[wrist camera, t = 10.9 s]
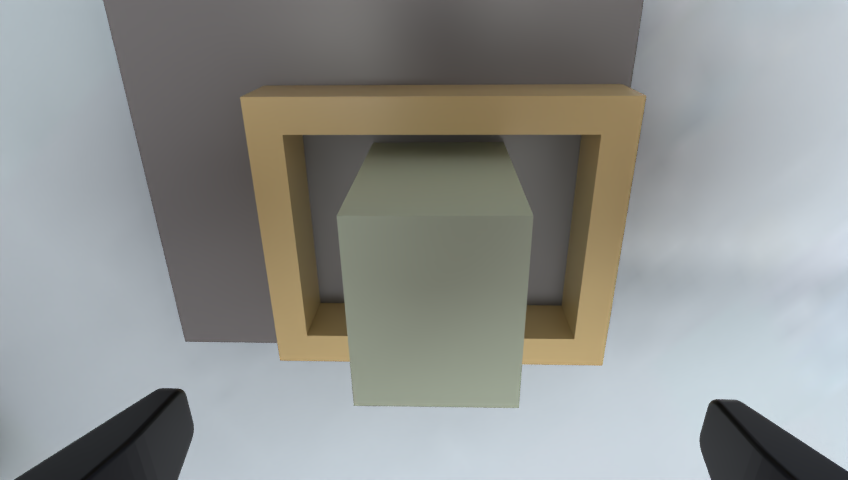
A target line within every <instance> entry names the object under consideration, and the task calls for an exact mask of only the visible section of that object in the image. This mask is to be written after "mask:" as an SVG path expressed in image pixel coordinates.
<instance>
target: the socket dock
mask: <svg viewBox="0 0 848 480" xmlns="http://www.w3.org/2000/svg"><path fill="white" fill-rule="evenodd" d="M103 1H104V6H105V10H106V14H107V18H108V22H109V26H110V30H111V35H112V39H113V43H114V47H115V51H116V55H117V60H118V64H119V68H120V72H121V76H122V80H123V84H124V89H125V93H126V97H127V101H128V105H129V109H130V114H131V118H132V122H133V126H134V130H135V134H136V138H137V143H138V147H139V151H140V155H141V159H142V163H143V168H144V172H145V176H146V180H147V184H148V188H149V192H150V197H151V201H152V205H153V209H154V213H155V217H156V222H157V226H158V230H159V234H160V238H161V242H162V246H163V251H164V255H165V259H166V263H167V267H168V271H169V276H170V280H171V284H172V288H173V292H174V296H175V301H176V305H177V309H178V313H179V317H180V321H181V325H182V330H183V334H184V338H185V342H255V343H278V350H279V356H280V360H284V361H348V362H350V357H349V346H348V335H347V324H346V313H345V302H344V292H343V281H342V270H341V259H340V248H339V237H338V226H337V214H338V212H339V210H340V208H341V206H342V204H343V202H344V200H345V198H346V196H347V194H348V192H349V190H350V188H351V186H352V184H353V182H354V180H355V178H356V176H357V174H358V172H359V170H360V168H361V166H362V164H363V162H364V160H365V158H366V156H367V154H368V152H369V150H370V148H371V146H372V144H373V143H401V142H504V144H505V147H506V149H507V152H508V154H509V157H510V159H511V161H512V164H513V166H514V169H515V171H516V174H517V176H518V179H519V181H520V184H521V186H522V189H523V191H524V193H525V196H526V198H527V201H528V203H529V206H530V208H531V211H532V213H533V229H532V242H531V255H530V268H529V281H528V294H527V307H526V320H525V333H524V346H523V359H522V364H542V365H602V364H603V358H604V351H605V345H606V339H607V333H608V327H609V321H610V315H611V309H612V302H613V296H614V290H615V284H616V278H617V272H618V266H619V260H620V254H621V247H622V241H623V235H624V229H625V223H626V217H627V211H628V205H629V198H630V192H631V186H632V180H633V174H634V168H635V162H636V156H637V150H638V143H639V137H640V131H641V125H642V119H643V113H644V107H645V101H646V95H644V94H642V93H640V92H638V91H636V90H634V89H632V88H631V81H632V74H633V68H634V61H635V54H636V48H637V41H638V34H639V28H640V21H641V15H642V8H643V1H644V0H103Z"/></svg>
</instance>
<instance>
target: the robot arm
mask: <svg viewBox="0 0 848 480" xmlns="http://www.w3.org/2000/svg"><path fill="white" fill-rule="evenodd" d="M193 432H194V425H193V420H192V416H191V412H190V408H189V404H188V400H187V396H186V394H185V392H184V391H183V390H181V389H173V388H162V389H157V390H155V391H154V392H152V393H151V394H149V395H147V396H146V397H144V398H143V399H141V400H139V401H138V402H136V403H135V404H133V405H132V406H130V407H128V408H127V409H125V410H124V411H122V412H120V413H119V414H117V415H116V416H114V417H113V418H111V419H109V420H108V421H106V422H105V423H103V424H101V425H100V426H98V427H97V428H95V429H93V430H92V431H90V432H89V433H87V434H86V435H84V436H82V437H81V438H79V439H78V440H76V441H74V442H73V443H71V444H70V445H68V446H67V447H65V448H63V449H62V450H60V451H59V452H57V453H55V454H54V455H52V456H51V457H49V458H48V459H46V460H44V461H43V462H41V463H40V464H38V465H36V466H35V467H33V468H32V469H30V470H29V471H27V472H25V473H24V474H22V475H21V476H19V477H17V478H16V479H14V480H178V477H179V474H180V471H181V469H182V466H183V463H184V460H185V457H186V455H187V452H188V449H189V446H190V443H191V441H192V437H193ZM700 448H701V452H702V455H703V458H704V461H705V463H706V466H707V469H708V472H709V475H710V478H711V480H848V471H846V470H845V469H843V468H842V467H840V466H839V465H837V464H836V463H834V462H833V461H831V460H829V459H828V458H826V457H825V456H823V455H822V454H820V453H819V452H817V451H816V450H814V449H813V448H811V447H810V446H808V445H807V444H805V443H803V442H802V441H800V440H799V439H797V438H796V437H794V436H793V435H791V434H790V433H788V432H787V431H785V430H784V429H782V428H781V427H779V426H777V425H776V424H774V423H773V422H771V421H770V420H768V419H767V418H765V417H764V416H762V415H761V414H759V413H758V412H756V411H754V410H753V409H751V408H750V407H748V406H747V405H745V404H744V403H742V402H740V401H738V400H726V399H716V400H712V401H711V402H710V403H709V406H708V408H707V412H706V415H705V419H704V423H703V426H702V430H701V433H700Z"/></svg>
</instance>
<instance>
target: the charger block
mask: <svg viewBox="0 0 848 480" xmlns="http://www.w3.org/2000/svg"><path fill="white" fill-rule="evenodd" d="M337 226H338V237H339V248H340V259H341V270H342V281H343V292H344V302H345V313H346V324H347V335H348V346H349V357H350V368H351V379H352V390H353V401H354V406H413V407H484V408H519V398H520V385H521V372H522V359H523V346H524V333H525V320H526V307H527V294H528V281H529V268H530V255H531V242H532V229H533V213H532V211H531V208H530V206H529V203H528V201H527V198H526V196H525V193H524V191H523V189H522V186H521V184H520V181H519V179H518V176H517V174H516V171H515V169H514V166H513V164H512V161H511V159H510V157H509V154H508V152H507V149H506V147H505V144H504V142H401V143H373V144H372V146H371V148H370V150H369V152H368V154H367V156H366V158H365V160H364V162H363V164H362V166H361V168H360V170H359V172H358V174H357V176H356V178H355V180H354V182H353V184H352V186H351V188H350V190H349V192H348V194H347V196H346V198H345V200H344V202H343V204H342V206H341V208H340V210H339V212H338V214H337Z"/></svg>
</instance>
